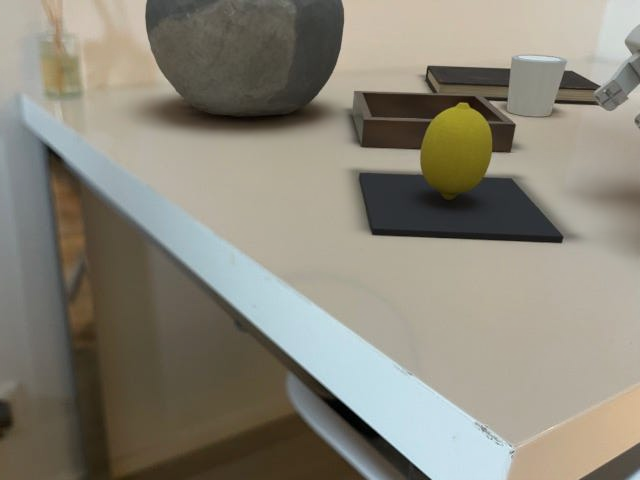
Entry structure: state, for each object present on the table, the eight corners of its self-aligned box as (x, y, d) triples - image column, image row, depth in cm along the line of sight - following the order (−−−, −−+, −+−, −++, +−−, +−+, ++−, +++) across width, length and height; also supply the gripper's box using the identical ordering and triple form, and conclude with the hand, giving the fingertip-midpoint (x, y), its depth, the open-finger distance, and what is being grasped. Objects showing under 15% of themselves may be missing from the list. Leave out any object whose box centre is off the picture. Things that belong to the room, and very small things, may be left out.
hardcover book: (601, 104, 94) (605, 88, 93) (436, 98, 97) (438, 81, 96) (568, 84, 108) (571, 70, 107) (425, 79, 111) (427, 64, 110)
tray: (476, 118, 85) (480, 94, 84) (510, 152, 71) (516, 124, 70) (352, 114, 86) (354, 90, 85) (361, 146, 72) (363, 119, 71)
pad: (510, 183, 61) (511, 177, 61) (562, 242, 49) (564, 236, 49) (359, 177, 62) (359, 172, 62) (372, 234, 50) (372, 228, 50)
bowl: (157, 137, 74) (150, -10, 67) (144, 94, 95) (138, -21, 88) (365, 130, 79) (378, -8, 72) (309, 90, 100) (315, -19, 93)
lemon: (494, 209, 54) (514, 109, 50) (429, 212, 53) (444, 110, 49) (464, 187, 58) (480, 95, 55) (404, 190, 58) (416, 96, 54)
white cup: (499, 105, 93) (508, 52, 90) (550, 108, 92) (562, 55, 88) (505, 115, 87) (515, 60, 84) (560, 119, 86) (573, 62, 82)
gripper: (713, -59, 53) (559, 64, 59) (892, -64, 35) (645, 113, 41) (754, 3, 55) (600, 117, 60) (945, 28, 37) (700, 187, 42)
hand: (619, 116), depth 50 cm, fingers open, 8 cm apart
